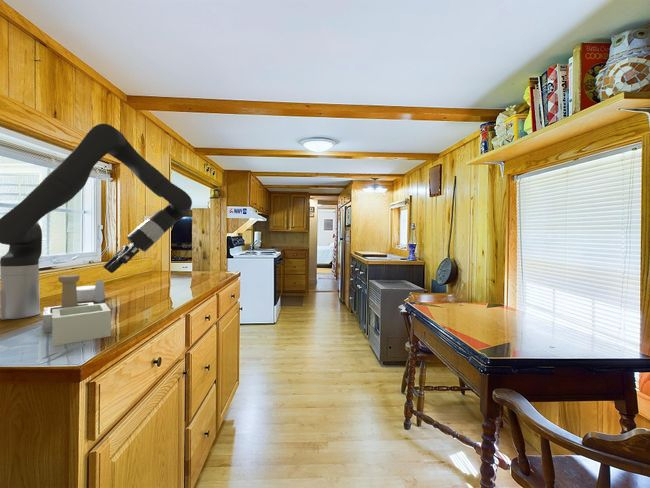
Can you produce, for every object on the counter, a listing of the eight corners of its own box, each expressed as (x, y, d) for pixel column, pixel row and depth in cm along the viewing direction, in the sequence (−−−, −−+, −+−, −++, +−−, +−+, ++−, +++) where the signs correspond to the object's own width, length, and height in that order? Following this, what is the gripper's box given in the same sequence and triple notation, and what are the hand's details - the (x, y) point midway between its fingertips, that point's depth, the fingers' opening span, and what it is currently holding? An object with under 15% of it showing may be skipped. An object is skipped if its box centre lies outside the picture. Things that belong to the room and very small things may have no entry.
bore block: (43, 333, 87) (43, 315, 87) (44, 323, 96) (43, 307, 96) (96, 325, 95) (96, 308, 95) (92, 317, 104) (92, 302, 104)
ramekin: (90, 303, 125) (90, 290, 125) (63, 302, 125) (62, 289, 125) (110, 297, 136) (109, 285, 136) (85, 297, 136) (84, 285, 136)
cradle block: (52, 346, 77) (52, 318, 77) (52, 334, 86) (52, 309, 86) (111, 335, 85) (110, 310, 85) (105, 326, 94) (105, 303, 94)
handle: (81, 320, 99) (80, 274, 99) (79, 325, 94) (78, 276, 94) (61, 323, 97) (60, 275, 96) (58, 328, 91) (57, 277, 91)
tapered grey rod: (94, 339, 107) (93, 302, 102) (95, 301, 125) (94, 268, 120) (105, 338, 109) (105, 301, 104) (105, 300, 127) (104, 267, 122)
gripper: (133, 227, 112) (94, 260, 105) (142, 227, 101) (99, 264, 94) (150, 242, 116) (113, 275, 108) (160, 243, 105) (120, 280, 98)
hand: (107, 270), depth 101 cm, fingers open, 8 cm apart
